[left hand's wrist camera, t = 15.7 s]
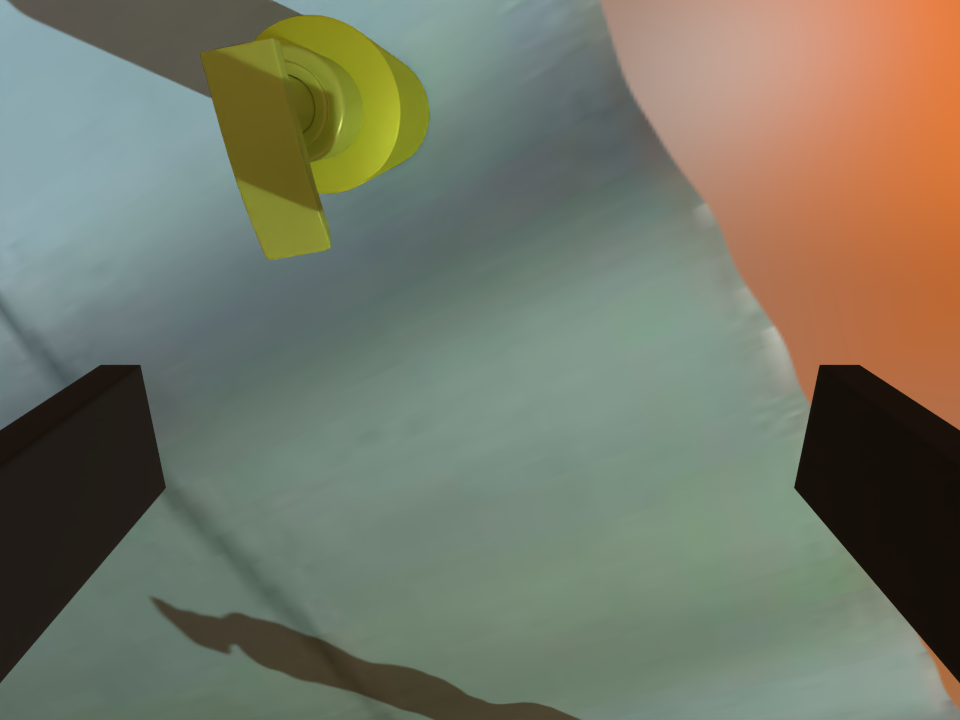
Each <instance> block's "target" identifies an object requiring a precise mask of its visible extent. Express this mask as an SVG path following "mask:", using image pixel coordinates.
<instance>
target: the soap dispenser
mask: <svg viewBox="0 0 960 720" xmlns="http://www.w3.org/2000/svg"><path fill="white" fill-rule="evenodd" d="M200 56H201V59H202V63H203V67H204V71H205V74H206V78H207V82H208V86H209V89H210V93H211V97H212V100H213V104H214V108H215V111H216V115H217V118H218V122H219V126H220V129H221V133H222V136H223V140H224V143H225V146H226V150H227V153H228V156H229V160H230V163H231V166H232V169H233V172H234V176H235V179H236V182H237V185H238V188H239V190H240V193H241V196H242V199H243V202H244V204H245V207H246V210H247V212H248V215H249V218H250V220H251V223H252V225H253V228H254V230H255V233H256V235H257V238H258V240H259V243H260V245H261V247H262V250H263V252H264V254H265V256H266V258H267V259H268V260H274V259H280V258H286V257H291V256H297V255H302V254H308V253H313V252H319V251H324V250H328V249H330V247H331V243H330V230H329V227H328V223H327V220H326V217H325V214H324V211H323V208H322V204H321V201H320V198H319V194H331V193H339V192H343V191H347V190H350V189H353V188H355V187H357V186H359V185H361V184H363V183H365V182H367V181H369V180H371V179H372V178H374V177H376V176H378V175H380V174H382V173H384V172H385V171H387V170H389V169H391V168H393V167H395V166H397V165H398V164H400V163H402V162H404V161H405V160H407V159H408V158H410V157H411V156H412V155H413V154H414V153H415V152H416V151H417V149H418V148H419V147H420V145H421V143H422V142H423V140H424V138H425V135H426V132H427V129H428V124H429V104H428V99H427V96H426V93H425V90H424V88H423V86H422V84H421V82H420V80H419V79H418V77H417V76H416V75H415V73H414V72H413V71H412V70H411V69H410V68H409V67H408V66H407V65H405V64H404V63H403V62H401V61H400V60H398V59H397V58H396V57H394V56H393V55H391V54H390V53H389V52H387V51H386V50H385V49H383V48H382V47H380V46H379V45H378V44H376V43H375V42H373V41H372V40H371V39H369V38H368V37H366V36H365V35H364V34H362V33H361V32H359V31H358V30H357V29H355V28H353V27H352V26H350V25H348V24H346V23H344V22H342V21H339V20H336V19H333V18H330V17H325V16H319V15H301V16H295V17H290V18H287V19H284V20H282V21H279V22H277V23H275V24H273V25H272V26H270V27H269V28H267V29H266V30H264V31H263V32H262V33H261V34H260V35H259V36H258V37H257V38H256V39H255V40H254V41H253V42H248V43H244V44H239V45H234V46H229V47H224V48H219V49H214V50H209V51H204V52H200ZM318 193H319V194H318Z"/></svg>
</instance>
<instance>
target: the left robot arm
mask: <svg viewBox="0 0 960 720" xmlns="http://www.w3.org/2000/svg"><path fill="white" fill-rule="evenodd" d="M165 488H166V486H165V482H164V477H163V472H162V467H161V462H160V458H159V453H158V448H157V443H156V438H155V433H154V429H153V424H152V419H151V414H150V409H149V405H148V400H147V395H146V390H145V385H144V381H143V376H142V371H141V366H140V365H100V366H98V367H97V368H95V369H94V370H92V371H91V372H89V373H88V374H86V375H84V376H83V377H81V378H80V379H78V380H77V381H75V382H74V383H72V384H71V385H69V386H68V387H66V388H65V389H63V390H61V391H60V392H58V393H57V394H55V395H54V396H52V397H51V398H49V399H48V400H46V401H45V402H43V403H42V404H40V405H38V406H37V407H35V408H34V409H32V410H31V411H29V412H28V413H26V414H25V415H23V416H22V417H20V418H19V419H17V420H15V421H14V422H12V423H11V424H9V425H8V426H6V427H5V428H3V429H2V430H0V683H1V681H2V680H3V679H4V678H5V677H6V676H7V674H8V673H9V672H10V671H11V670H12V668H13V667H14V666H15V665H16V664H17V663H18V661H19V660H20V659H21V658H22V657H23V655H24V654H25V653H26V652H27V651H28V650H29V648H30V647H31V646H32V645H33V644H34V643H35V641H36V640H37V639H38V638H39V637H40V635H41V634H42V633H43V632H44V631H45V630H46V628H47V627H48V626H49V625H50V624H51V622H52V621H53V620H54V619H55V618H56V617H57V615H58V614H59V613H60V612H61V611H62V610H63V608H64V607H65V606H66V605H67V604H68V602H69V601H70V600H71V599H72V598H73V597H74V595H75V594H76V593H77V592H78V591H79V589H80V588H81V587H82V586H83V585H84V584H85V582H86V581H87V580H88V579H89V578H90V577H91V575H92V574H93V573H94V572H95V571H96V569H97V568H98V567H99V566H100V565H101V564H102V562H103V561H104V560H105V559H106V558H107V556H108V555H109V554H110V553H111V552H112V551H113V549H114V548H115V547H116V546H117V545H118V544H119V542H120V541H121V540H122V539H123V538H124V536H125V535H126V534H127V533H128V532H129V531H130V529H131V528H132V527H133V526H134V525H135V523H136V522H137V521H138V520H139V519H140V518H141V516H142V515H143V514H144V513H145V512H146V511H147V509H148V508H149V507H150V506H151V505H152V503H153V502H154V501H155V500H156V499H157V498H158V496H159V495H160V494H161V493H162V492H163V490H164V489H165ZM794 488H795V489H796V491H797V492H798V493H799V494H800V495H801V496H802V498H803V499H804V500H805V501H806V502H807V503H808V505H809V506H810V507H811V508H812V509H813V511H814V512H815V513H816V514H817V515H818V516H819V518H820V519H821V520H822V521H823V522H824V523H825V525H826V526H827V527H828V528H829V529H830V531H831V532H832V533H833V534H834V535H835V536H836V538H837V539H838V540H839V541H840V542H841V544H842V545H843V546H844V547H845V548H846V549H847V551H848V552H849V553H850V554H851V555H852V557H853V558H854V559H855V560H856V561H857V562H858V564H859V565H860V566H861V567H862V568H863V569H864V571H865V572H866V573H867V574H868V575H869V577H870V578H871V579H872V580H873V581H874V582H875V584H876V585H877V586H878V587H879V588H880V590H881V591H882V592H883V593H884V594H885V595H886V597H887V598H888V599H889V600H890V601H891V602H892V604H893V605H894V606H895V607H896V608H897V610H898V611H899V612H900V613H901V614H902V615H903V617H904V618H905V619H906V620H907V621H908V622H909V624H910V625H911V626H912V627H913V628H914V630H915V631H916V632H917V633H918V634H919V635H920V637H921V638H922V639H923V640H924V641H925V643H926V644H927V645H928V646H929V647H930V648H931V650H932V651H933V652H934V653H935V654H936V656H937V657H938V658H939V659H940V660H941V661H942V663H943V664H944V665H945V666H946V667H947V668H948V670H949V671H950V672H951V673H952V674H953V676H954V677H955V678H956V679H957V680H958V681H959V683H960V430H958V429H957V428H955V427H954V426H952V425H951V424H949V423H948V422H946V421H945V420H943V419H941V418H940V417H938V416H937V415H935V414H934V413H932V412H931V411H929V410H928V409H926V408H925V407H923V406H921V405H920V404H918V403H917V402H915V401H914V400H912V399H911V398H909V397H908V396H906V395H905V394H903V393H902V392H900V391H898V390H897V389H895V388H894V387H892V386H891V385H889V384H888V383H886V382H885V381H883V380H882V379H880V378H879V377H877V376H876V375H874V374H872V373H871V372H869V371H868V370H866V369H865V368H863V367H862V366H860V365H820V366H819V371H818V376H817V381H816V385H815V390H814V395H813V400H812V405H811V409H810V414H809V419H808V424H807V429H806V433H805V438H804V443H803V448H802V453H801V458H800V462H799V467H798V472H797V477H796V482H795V486H794Z"/></svg>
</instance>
